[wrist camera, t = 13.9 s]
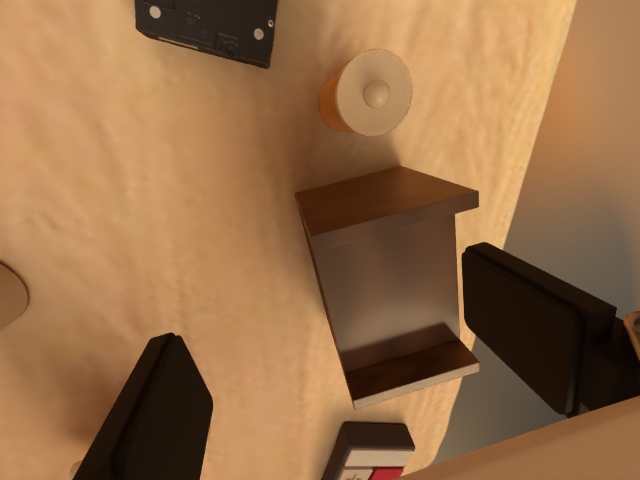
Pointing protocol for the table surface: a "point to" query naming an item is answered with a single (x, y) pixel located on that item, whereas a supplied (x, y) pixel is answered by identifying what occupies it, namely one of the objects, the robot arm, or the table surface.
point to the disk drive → (212, 26)
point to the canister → (367, 94)
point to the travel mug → (11, 297)
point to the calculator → (370, 452)
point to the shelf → (390, 279)
